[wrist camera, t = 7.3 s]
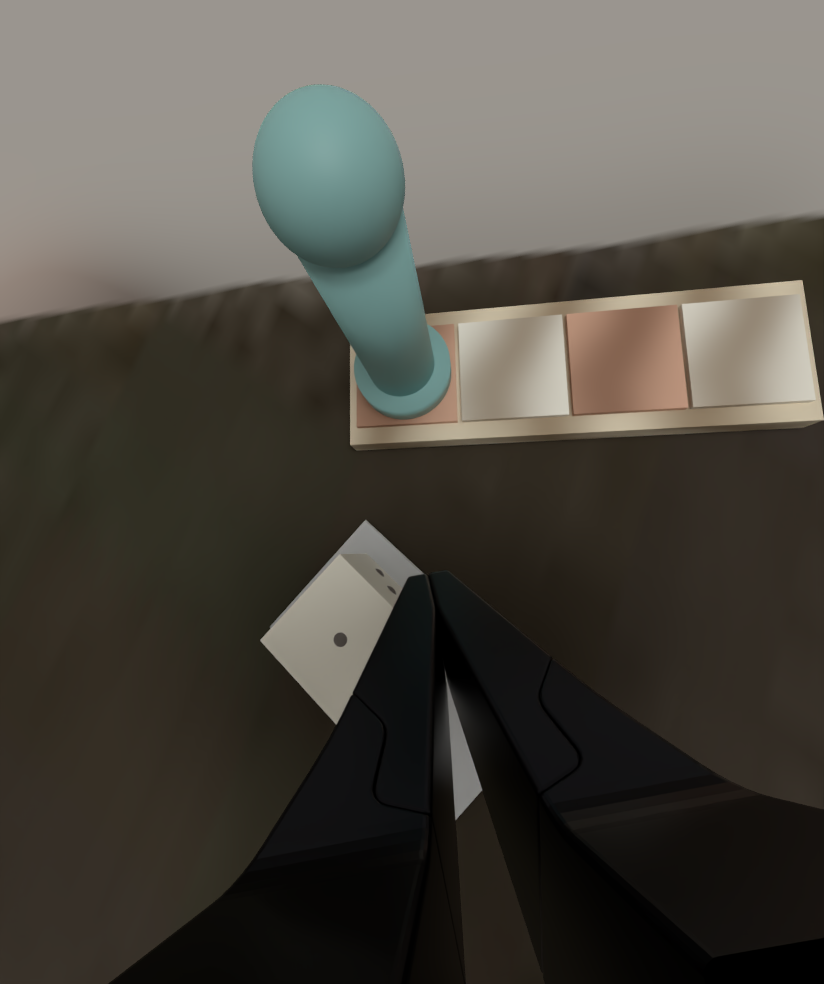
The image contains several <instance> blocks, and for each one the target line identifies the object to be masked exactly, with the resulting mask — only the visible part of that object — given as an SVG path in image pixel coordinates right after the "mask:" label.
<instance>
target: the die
mask: <svg viewBox="0 0 824 984" xmlns="http://www.w3.org/2000/svg"><path fill="white" fill-rule="evenodd" d="M401 590H402V588H401V587H400V586H399V585H398V584H397V583H396V582H395V581H394V580H393V579H392V578H391V577H390V576H389V575H388V574H387V573H386V572H385V571H384V570H383V569H382V568H381V567H380V566H379V565H378V564H377V563H376V562H375V561H374V560H373V559H372V558H371V557H370V556H369V555H368V554H339V555H338V556H337V557H336V558H335V559H334V561H333V562H332V563H331V564H330V565H329V566H328V567H327V568H326V569H325V570H324V571H323V572H322V574H321V575H320V576H319V577H318V578H317V579H316V580H315V581H314V582H313V583H312V584H311V586H310V587H309V588H308V589H307V590H306V591H305V592H304V593H303V594H302V595H301V596H300V597H299V599H298V600H297V601H296V602H295V603H294V604H293V605H292V606H291V607H290V608H289V609H288V610H287V612H286V613H285V614H284V615H283V616H282V617H281V618H280V619H279V620H278V621H277V622H276V623H275V625H274V626H273V627H272V628H271V629H270V630H269V631H268V632H267V633H266V634H265V635H264V637H263V638H262V639H261V640H260V641H261V642H262V643H263V644H264V645H265V647H266V648H267V649H268V650H269V651H270V652H271V653H272V654H273V655H274V657H275V658H276V659H277V660H278V661H279V662H280V663H281V664H282V665H283V666H284V668H285V669H286V670H287V671H288V672H289V673H290V674H291V675H292V676H293V677H294V679H295V680H296V681H297V682H298V683H299V684H300V685H301V686H302V687H303V689H304V690H305V691H306V692H307V693H308V694H309V695H310V696H311V697H312V698H313V700H314V701H315V702H316V703H317V704H318V705H319V706H320V707H321V708H322V710H323V711H324V712H325V713H326V714H327V715H328V716H329V717H330V718H331V719H332V721H333V722H334V723H335V724H337V723H338V721H339V719H340V717H341V715H342V713H343V711H344V709H345V707H346V705H347V702H348V700H349V698H350V696H351V695H353V690H354V688H355V686H356V684H357V682H358V680H359V678H360V676H361V674H362V672H363V670H364V667H365V665H366V663H367V661H368V659H369V657H370V655H371V653H372V651H373V649H374V647H375V645H376V643H377V640H378V638H379V636H380V634H381V632H382V630H383V628H384V626H385V624H386V622H387V620H388V618H389V615H390V613H391V611H392V609H393V607H394V605H395V603H396V601H397V599H398V597H399V595H400V593H401Z"/></svg>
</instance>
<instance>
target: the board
mask: <svg viewBox="0 0 824 984" xmlns="http://www.w3.org/2000/svg"><path fill="white" fill-rule="evenodd" d="M425 317H426V322H427V324H428V325H430V326H431V327H433V328H434V329H435V330H436V331H437V332H438V333H439V334H440V335H441V336H442V338H443V339H444V341H445V343H446V345H447V347H448V351H449V355H450V363H451V382H450V386H449V389H448V391H447V393H446V395H445V397H444V398H443V400H442V401H441V402H440V403H439V404H438V405H437V406H436V407H435V408H434V409H433V410H432V411H430V412H428V413H427V414H425V415H423V416H420V417H417V418H414V419H406V420H400V419H393V418H390V417H387V416H384V415H383V414H381V413H379V412H378V411H376V410H375V409H374V408H373V407H372V406H371V405H370V404H369V402H368V401H367V400H366V398H365V397H364V396H363V394H362V393H361V391H360V389H359V388H358V385H357V383H356V380H355V375H354V362H355V357H356V353H355V351H354V349H353V348H352V346H351V344H350V445H351V446H352V447H353V448H354V449H355V450H356V451H358V450H378V449H397V448H417V447H436V446H456V445H476V444H495V443H515V442H534V441H554V440H573V439H593V438H613V437H632V436H652V435H671V434H691V433H710V432H730V431H750V430H769V429H789V428H803V427H806V426H809V425H811V424H814V423H817V422H820V421H822V420H824V418H823V412H822V405H821V399H820V392H819V386H818V379H817V373H816V366H815V360H814V353H813V347H812V340H811V334H810V327H809V321H808V314H807V308H806V301H805V295H804V288H803V282H802V280H799V281H788V282H777V283H766V284H755V285H744V286H733V287H721V288H710V289H699V290H688V291H677V292H666V293H655V294H644V295H633V296H621V297H610V298H599V299H588V300H577V301H566V302H555V303H544V304H533V305H521V306H510V307H499V308H488V309H477V310H466V311H455V312H444V313H433V314H425Z"/></svg>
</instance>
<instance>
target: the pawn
mask: <svg viewBox="0 0 824 984" xmlns="http://www.w3.org/2000/svg"><path fill="white" fill-rule="evenodd" d="M252 167H253V182H254V187H255V192H256V196H257V200H258V202H259V206H260V208H261V211H262V213H263V215H264V217H265V219H266V221H267V223H268V224H269V226H270V228H271V229H272V231H273V232H274V233H275V235H276V236H277V237H278V239H279V240H280V241H281V242H282V243H283V244H284V245H285V246H286V247H287V248H288V249H289V250H291V251H292V252H293V253H295V254H296V255H297V256H298V258H299V259H300V261H301V262H302V264H303V266H304V268H305V269H306V271H307V273H308V274H309V276H310V278H311V279H312V281H313V283H314V284H315V286H316V288H317V289H318V291H319V293H320V294H321V296H322V298H323V299H324V301H325V303H326V304H327V306H328V308H329V309H330V311H331V313H332V314H333V316H334V318H335V319H336V321H337V323H338V324H339V326H340V328H341V329H342V331H343V333H344V334H345V336H346V338H347V339H348V341H349V343H350V344H351V346H352V348H353V349H354V351H355V353H356V357H355V362H354V375H355V380H356V383H357V385H358V388H359V389H360V391H361V393H362V394H363V396H364V397H365V398H366V400H367V401H368V402H369V404H370V405H371V406H372V407H373V408H374V409H375V410H376V411H378V412H379V413H381V414H383V415H384V416H387V417H390V418H393V419H400V420H406V419H414V418H417V417H420V416H423V415H425V414H427V413H428V412H430V411H432V410H433V409H434V408H435V407H436V406H437V405H438V404H439V403H440V402H441V401H442V400H443V398H444V397H445V395H446V393H447V391H448V389H449V386H450V382H451V363H450V355H449V351H448V347H447V345H446V343H445V341H444V339H443V338H442V336H441V335H440V334H439V333H438V332H437V331H436V330H435V329H434V328H433V327H431V326H430V325H428V324H427V322H426V317H425V312H424V307H423V302H422V297H421V293H420V288H419V283H418V278H417V273H416V269H415V264H414V259H413V254H412V250H411V245H410V240H409V235H408V231H407V225H406V221H405V216H404V211H403V204H404V196H405V177H404V169H403V163H402V159H401V156H400V152H399V149H398V146H397V144H396V141H395V139H394V137H393V135H392V133H391V131H390V129H389V128H388V126H387V124H386V123H385V122H384V120H383V119H382V117H381V116H380V115H379V114H378V113H377V112H376V110H375V109H374V108H373V107H372V106H371V105H370V104H368V103H367V102H366V101H364V100H363V99H362V98H360V97H359V96H357V95H356V94H354V93H352V92H350V91H348V90H345V89H343V88H340V87H337V86H332V85H321V84H320V85H309V86H305V87H301V88H299V89H296V90H294V91H292V92H290V93H288V94H287V95H285V96H284V97H283V98H282V99H280V100H279V101H278V102H277V103H276V104H275V105H274V107H273V108H272V109H271V110H270V111H269V113H268V114H267V116H266V117H265V119H264V121H263V123H262V125H261V127H260V129H259V132H258V135H257V138H256V141H255V147H254V153H253V163H252Z"/></svg>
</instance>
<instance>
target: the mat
mask: <svg viewBox="0 0 824 984" xmlns="http://www.w3.org/2000/svg"><path fill="white" fill-rule="evenodd" d="M339 554H368V555H369V556H370V557H371V558H372V559H373V560H374V561H375V562H376V563H377V564H378V565H379V566H380V567H381V568H382V569H383V570H384V571H385V572H386V573H387V574H388V575H389V576H390V577H391V578H392V579H393V580H394V581H395V582H396V583H397V584H398V585H399V586H400V587H401V588H403V586H404V584H405V582H406V580H407V578H408V577H409V576H414V575H420V574H424V573H423V572H422V571H421V570H420V569H419V568H417V567H416V566H415V565H414V564H413V563H412V562H411V561H410V560H409V559H408V558H407V557H406V556H405V555H403V554H402V553H401V552H400V551H399V550H398V549H397V548H396V547H395V546H394V545H393V544H392V543H391V542H389V541H388V540H387V539H386V538H385V537H384V536H383V535H382V534H381V533H380V532H379V531H378V530H377V529H376V528H374V527H373V526H372V525H371V524H370V523H369V522H368V521H367V520H365V521H364V522H363V523H362V524H361V525H360V527H359V528H358V529H357V530H356V531H355V532H354V533H353V534H352V536H351V537H350V538H349V539H348V540H347V541H346V542H345V543H344V544H343V546H342V547H341V548H340V549H339V550H338V551H337V552H336V553H335V555H334V556H333V557H332V558H331V559H330V560H329V561H328V562H327V563H326V565H325V566H324V567H323V568H322V569H321V570H320V571H319V572H318V574H317V575H316V576H315V577H314V578H313V579H312V580H311V581H310V582H309V584H308V585H307V586H306V587H305V588H304V589H303V590H302V591H301V593H300V594H299V595H298V596H297V597H296V598H295V599H294V600H293V601H292V603H291V604H290V605H289V606H288V607H287V608H286V609H285V610H284V612H283V613H282V614H281V615H280V616H279V617H278V618H277V619H276V620H275V622H274V623H273V624H272V625H271V626H270V628H272V627H273V626H274V625H275V623H276V622H277V621H278V620H279V619H280V618H281V617H282V616H283V615H284V614H285V613H286V612H287V610H288V609H289V608H290V607H291V606H292V605H293V604H294V603H295V602H296V601H297V600H298V599H299V597H300V596H301V595H302V594H303V593H304V592H305V591H306V590H307V589H308V588H309V587H310V586H311V584H312V583H313V582H314V581H315V580H316V579H317V578H318V577H319V576H320V575H321V574H322V572H323V571H324V570H325V569H326V568H327V567H328V566H329V565H330V564H331V563H332V562H333V561H334V559H335V558H336V557H337V556H338V555H339ZM445 676H446V673H445ZM446 683H447V693H448V709H449V725H450V741H451V757H452V773H453V789H454V805H455V820H456V819H457V818H458V817H459V816H460V815H461V814H462V812H463V811H464V810H465V809H466V808H467V807H468V806H469V804H470V803H471V802H472V801H473V800H474V799H475V798H476V797H477V795H478V794H479V793H480V792H481V791H482V788H481V785H480V781H479V778H478V775H477V772H476V769H475V766H474V763H473V760H472V757H471V754H470V751H469V748H468V745H467V742H466V738H465V735H464V732H463V729H462V726H461V723H460V720H459V717H458V714H457V711H456V708H455V705H454V702H453V699H452V696H451V692H450V689H449V685H448V682H447V678H446Z"/></svg>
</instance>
